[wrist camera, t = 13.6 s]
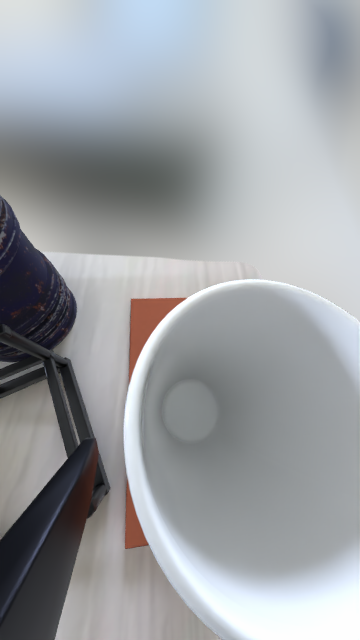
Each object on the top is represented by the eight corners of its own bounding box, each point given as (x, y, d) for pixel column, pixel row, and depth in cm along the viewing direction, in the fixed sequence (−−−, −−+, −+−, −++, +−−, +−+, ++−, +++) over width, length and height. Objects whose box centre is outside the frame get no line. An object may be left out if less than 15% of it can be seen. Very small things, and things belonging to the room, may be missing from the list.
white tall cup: (231, 449, 17) (567, 637, 3) (150, 459, 16) (100, 786, 2) (218, 368, 19) (361, 273, 6) (149, 373, 18) (123, 274, 5)
